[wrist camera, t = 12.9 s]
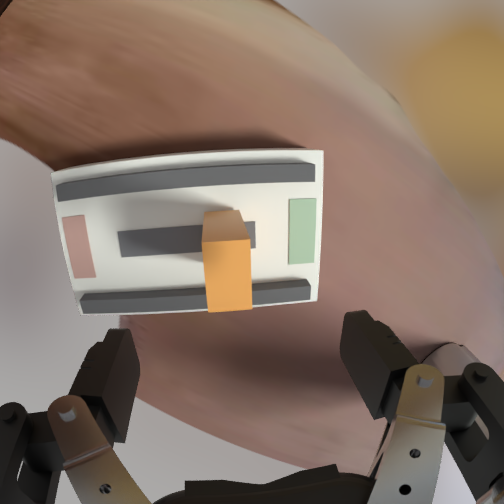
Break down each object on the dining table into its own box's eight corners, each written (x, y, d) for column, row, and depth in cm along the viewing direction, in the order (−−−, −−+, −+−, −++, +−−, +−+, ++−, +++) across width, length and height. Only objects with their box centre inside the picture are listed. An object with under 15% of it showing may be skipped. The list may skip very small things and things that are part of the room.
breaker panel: (307, 148, 25) (323, 150, 21) (304, 279, 29) (317, 301, 25) (71, 166, 23) (50, 173, 19) (94, 293, 27) (80, 316, 23)
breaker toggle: (239, 209, 21) (250, 239, 16) (241, 263, 23) (252, 309, 17) (204, 212, 21) (201, 242, 15) (208, 265, 23) (208, 312, 17)
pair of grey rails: (310, 162, 21) (315, 164, 20) (305, 292, 25) (310, 299, 24) (62, 182, 19) (55, 185, 18) (87, 306, 23) (83, 313, 22)
